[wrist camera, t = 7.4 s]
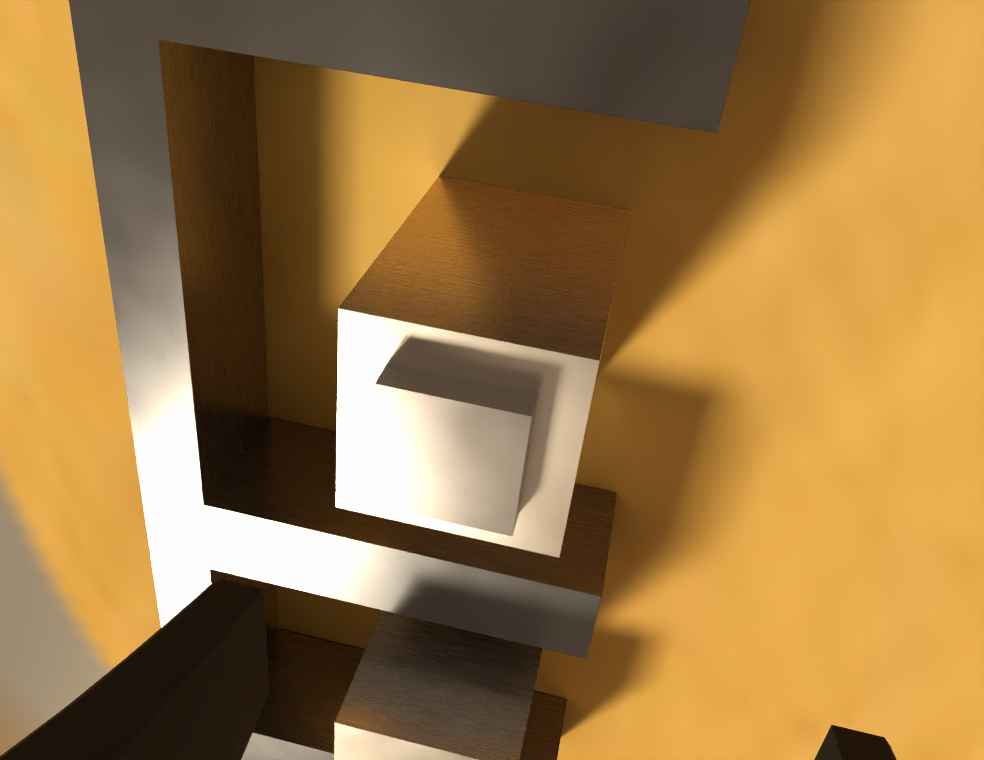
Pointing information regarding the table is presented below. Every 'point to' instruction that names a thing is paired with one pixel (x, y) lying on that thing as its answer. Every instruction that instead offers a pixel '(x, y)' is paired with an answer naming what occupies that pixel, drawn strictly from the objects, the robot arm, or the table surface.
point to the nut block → (476, 363)
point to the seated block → (436, 695)
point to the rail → (240, 311)
